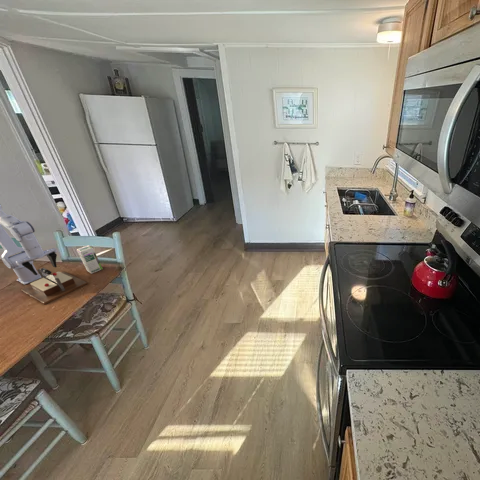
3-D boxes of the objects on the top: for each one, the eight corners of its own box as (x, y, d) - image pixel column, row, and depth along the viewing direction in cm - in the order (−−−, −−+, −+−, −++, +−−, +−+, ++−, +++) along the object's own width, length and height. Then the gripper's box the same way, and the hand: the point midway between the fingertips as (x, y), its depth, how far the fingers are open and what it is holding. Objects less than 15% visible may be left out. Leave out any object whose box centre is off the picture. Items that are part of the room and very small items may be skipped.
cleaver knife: (41, 277, 138) (35, 267, 135) (46, 275, 139) (40, 265, 136) (56, 284, 132) (50, 274, 129) (60, 282, 133) (54, 272, 130)
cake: (32, 288, 135) (28, 280, 133) (61, 276, 145) (57, 268, 143) (46, 296, 130) (41, 288, 128) (75, 282, 139) (71, 275, 137)
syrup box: (91, 274, 148) (80, 251, 141) (86, 271, 151) (75, 248, 144) (103, 269, 152) (93, 247, 146) (98, 266, 155) (88, 244, 149)
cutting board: (21, 290, 135) (12, 277, 131) (64, 272, 150) (57, 259, 146) (44, 304, 126) (35, 290, 122) (87, 283, 140) (81, 270, 136)
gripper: (15, 255, 119) (30, 280, 126) (54, 242, 131) (67, 265, 137) (8, 252, 122) (23, 276, 128) (47, 239, 134) (60, 262, 140)
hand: (45, 270), depth 133 cm, fingers open, 7 cm apart
